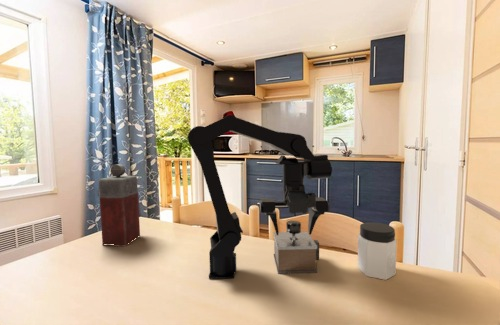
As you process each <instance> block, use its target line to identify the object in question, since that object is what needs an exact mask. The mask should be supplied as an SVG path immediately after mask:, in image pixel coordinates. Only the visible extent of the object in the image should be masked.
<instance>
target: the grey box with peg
mask: <svg viewBox="0 0 500 325" xmlns="http://www.w3.org/2000/svg"><path fill="white" fill-rule="evenodd" d="M273 238H274V240H273V242H274V244H273V245H274V247H273V248H274V249H273V250H274V251H273V252H274V253H273V258H274V262H275V267H276V271H277V274H318V269H317V261H320V242H319V241H318V240H315V239H313V238H312V236H311V235H309V231H301V232H300V233H298V234H295V240H292V234H291V233H288V232H287V231H286V232H285V231H283V232H279V231H278V235H277V234H276V231H275V232H273Z"/></svg>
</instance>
